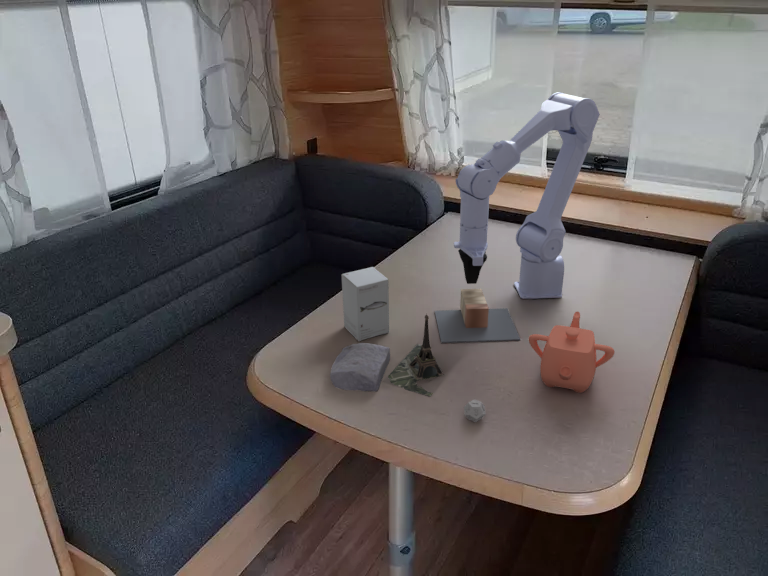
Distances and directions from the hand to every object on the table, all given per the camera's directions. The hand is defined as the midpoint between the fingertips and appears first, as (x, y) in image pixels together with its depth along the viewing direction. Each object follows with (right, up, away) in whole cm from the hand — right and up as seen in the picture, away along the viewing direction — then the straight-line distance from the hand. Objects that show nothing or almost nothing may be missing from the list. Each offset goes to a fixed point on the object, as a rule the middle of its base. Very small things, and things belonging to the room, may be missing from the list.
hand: (471, 282), depth 136 cm
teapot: (+14, -18, -22) cm, 31 cm away
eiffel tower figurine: (-11, -17, -17) cm, 27 cm away
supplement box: (-23, -10, -4) cm, 25 cm away
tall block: (0, -3, +2) cm, 4 cm away
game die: (-4, -23, -31) cm, 39 cm away
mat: (0, -9, -4) cm, 10 cm away
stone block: (-24, -17, -18) cm, 34 cm away
